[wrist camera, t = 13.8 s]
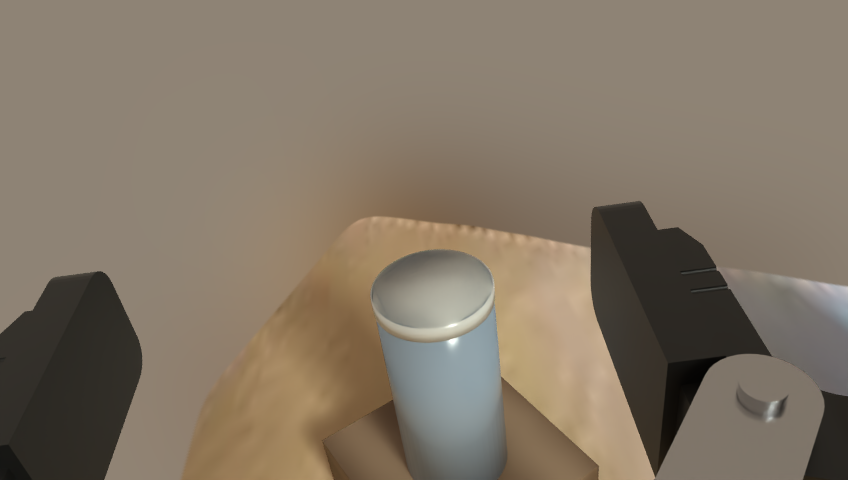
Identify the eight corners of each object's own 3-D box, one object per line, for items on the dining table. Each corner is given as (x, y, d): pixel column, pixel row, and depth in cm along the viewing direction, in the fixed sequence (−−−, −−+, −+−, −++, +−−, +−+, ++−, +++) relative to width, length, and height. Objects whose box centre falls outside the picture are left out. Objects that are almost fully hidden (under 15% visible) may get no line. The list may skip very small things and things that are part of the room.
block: (480, 396, 50) (475, 352, 47) (597, 510, 42) (598, 465, 39) (335, 483, 45) (322, 440, 43) (435, 629, 38) (426, 586, 35)
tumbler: (467, 398, 44) (447, 235, 37) (530, 460, 40) (519, 289, 33) (386, 447, 42) (348, 283, 35) (443, 518, 38) (413, 348, 31)
